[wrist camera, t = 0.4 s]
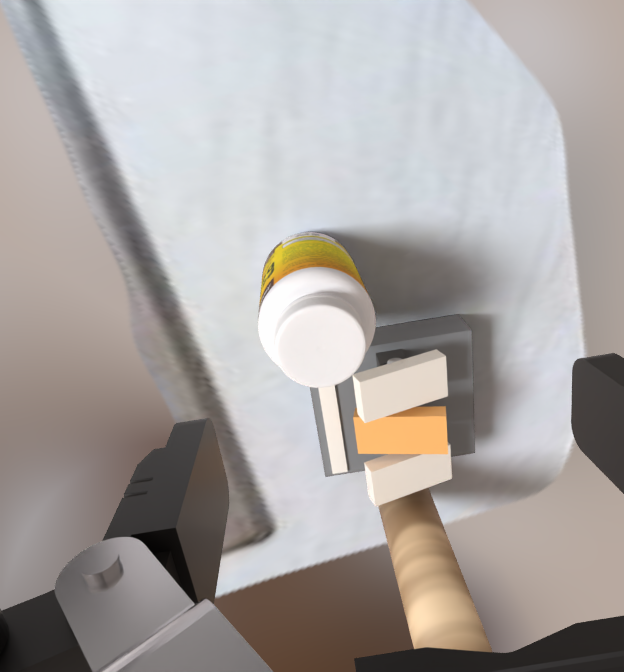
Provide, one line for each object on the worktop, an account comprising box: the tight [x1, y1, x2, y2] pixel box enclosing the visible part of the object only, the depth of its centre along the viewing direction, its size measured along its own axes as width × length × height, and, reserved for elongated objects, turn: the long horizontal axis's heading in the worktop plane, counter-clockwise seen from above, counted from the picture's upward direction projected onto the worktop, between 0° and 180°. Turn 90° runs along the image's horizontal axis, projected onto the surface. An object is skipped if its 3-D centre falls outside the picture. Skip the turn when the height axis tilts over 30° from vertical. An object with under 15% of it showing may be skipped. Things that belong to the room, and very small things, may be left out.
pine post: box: [379, 488, 492, 652], centre depth 31 cm, size 4×4×14 cm
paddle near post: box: [364, 443, 452, 507], centre depth 32 cm, size 3×5×1 cm, turn 99°
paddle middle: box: [353, 406, 448, 454], centre depth 31 cm, size 3×5×2 cm, turn 99°
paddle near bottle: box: [353, 349, 448, 423], centre depth 29 cm, size 3×5×2 cm, turn 98°
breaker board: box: [310, 314, 475, 477], centre depth 33 cm, size 9×10×4 cm
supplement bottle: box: [258, 232, 376, 388], centre depth 27 cm, size 6×6×10 cm
